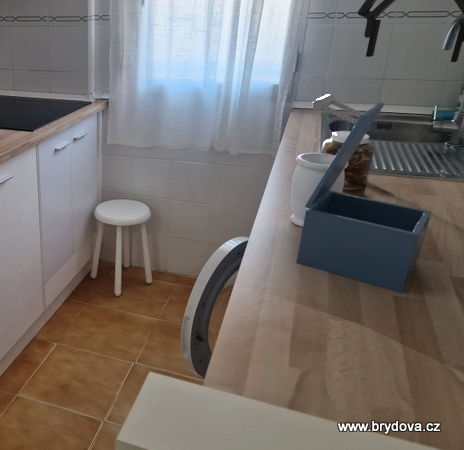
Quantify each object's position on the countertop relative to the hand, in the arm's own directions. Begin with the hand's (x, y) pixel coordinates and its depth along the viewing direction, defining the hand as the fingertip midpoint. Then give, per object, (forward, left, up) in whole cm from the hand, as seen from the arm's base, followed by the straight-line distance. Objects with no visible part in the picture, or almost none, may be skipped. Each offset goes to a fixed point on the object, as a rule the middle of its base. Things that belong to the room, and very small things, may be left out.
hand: (409, 58), depth 100 cm
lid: (-6, +13, -16) cm, 22 cm away
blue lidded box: (-10, +9, -37) cm, 39 cm away
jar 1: (+10, +7, -37) cm, 39 cm away
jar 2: (+29, -12, -37) cm, 48 cm away
